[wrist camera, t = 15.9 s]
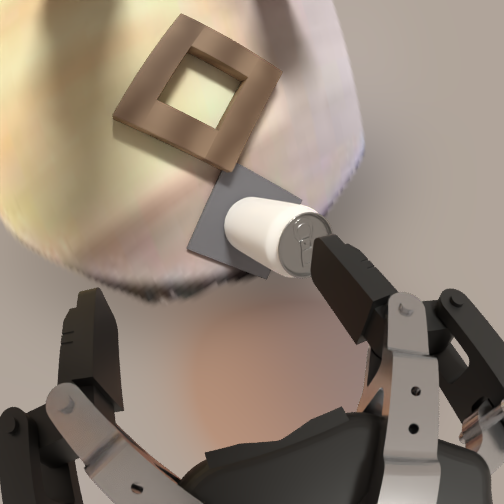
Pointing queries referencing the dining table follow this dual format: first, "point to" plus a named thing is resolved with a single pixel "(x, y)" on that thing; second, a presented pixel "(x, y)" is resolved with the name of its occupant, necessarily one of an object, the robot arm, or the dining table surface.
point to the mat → (213, 216)
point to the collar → (182, 125)
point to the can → (276, 233)
